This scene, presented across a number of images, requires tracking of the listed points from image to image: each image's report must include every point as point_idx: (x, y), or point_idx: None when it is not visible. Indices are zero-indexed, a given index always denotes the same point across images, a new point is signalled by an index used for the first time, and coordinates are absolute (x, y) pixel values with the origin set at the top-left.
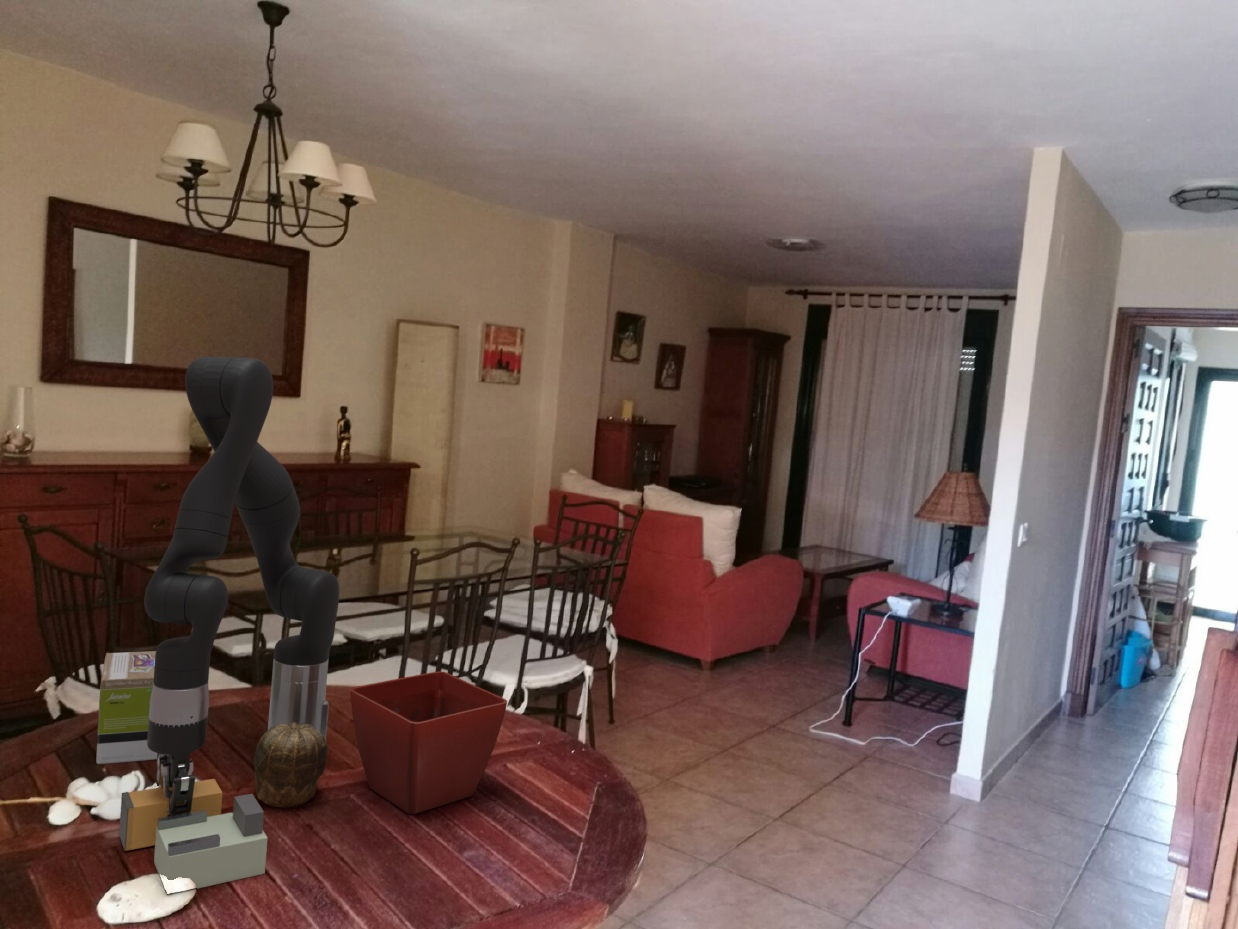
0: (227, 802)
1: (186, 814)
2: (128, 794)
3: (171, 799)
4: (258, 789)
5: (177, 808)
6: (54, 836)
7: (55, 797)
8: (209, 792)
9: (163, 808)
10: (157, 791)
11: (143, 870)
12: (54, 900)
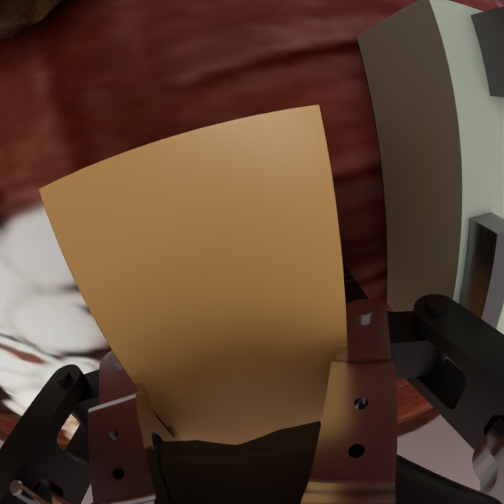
0: (27, 119)
1: (490, 313)
2: None
3: (441, 413)
4: (27, 9)
5: (444, 360)
6: None
7: (69, 438)
8: (293, 210)
9: None
10: (217, 441)
11: None
12: (423, 405)
